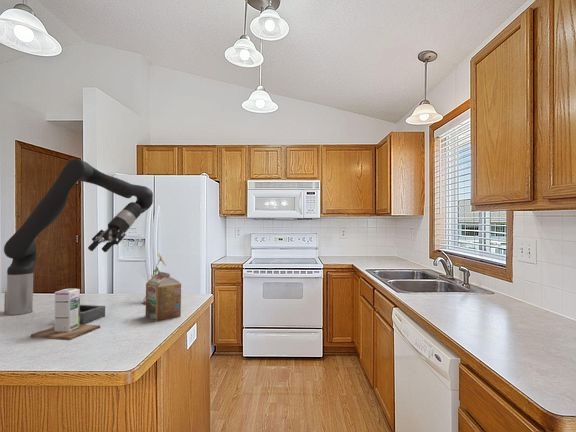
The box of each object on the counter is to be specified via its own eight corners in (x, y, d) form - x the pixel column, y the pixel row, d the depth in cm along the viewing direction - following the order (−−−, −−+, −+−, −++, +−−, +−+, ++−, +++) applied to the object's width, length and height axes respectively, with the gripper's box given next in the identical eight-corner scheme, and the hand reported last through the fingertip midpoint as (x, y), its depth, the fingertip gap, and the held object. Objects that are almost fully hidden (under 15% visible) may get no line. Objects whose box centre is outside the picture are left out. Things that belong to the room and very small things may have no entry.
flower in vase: (162, 305, 166) (163, 253, 167) (139, 305, 166) (139, 253, 167) (171, 299, 179) (172, 251, 180) (150, 299, 179) (151, 251, 180)
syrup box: (69, 332, 122) (70, 291, 122) (53, 331, 122) (54, 291, 122) (79, 327, 127) (80, 288, 128) (64, 326, 128) (65, 288, 128)
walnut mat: (30, 336, 119) (30, 334, 119) (63, 325, 133) (63, 323, 133) (70, 339, 116) (70, 337, 116) (100, 327, 130) (100, 325, 130)
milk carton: (180, 316, 146) (181, 272, 146) (157, 321, 138) (157, 274, 139) (168, 312, 153) (169, 269, 154) (145, 316, 146) (146, 272, 146)
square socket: (57, 322, 135) (57, 311, 136) (80, 315, 147) (80, 304, 147) (83, 324, 133) (83, 313, 133) (105, 316, 145) (105, 305, 145)
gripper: (105, 216, 149) (79, 243, 138) (128, 216, 143) (102, 244, 132) (116, 228, 154) (91, 255, 143) (138, 228, 147) (114, 257, 137)
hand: (96, 250), depth 138 cm, fingers open, 8 cm apart
